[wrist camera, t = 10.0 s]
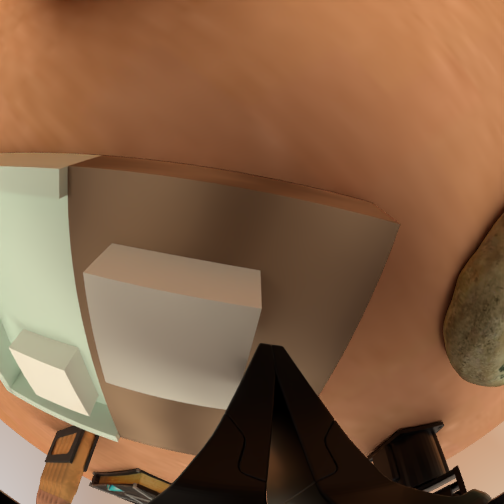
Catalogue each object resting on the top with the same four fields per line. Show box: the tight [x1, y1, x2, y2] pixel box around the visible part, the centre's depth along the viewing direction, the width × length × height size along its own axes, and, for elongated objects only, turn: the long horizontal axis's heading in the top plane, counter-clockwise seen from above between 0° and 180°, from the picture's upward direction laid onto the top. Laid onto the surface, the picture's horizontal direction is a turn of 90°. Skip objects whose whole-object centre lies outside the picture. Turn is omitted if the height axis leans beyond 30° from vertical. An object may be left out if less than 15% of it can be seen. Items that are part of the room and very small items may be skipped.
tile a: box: [9, 329, 99, 417], centre depth 14 cm, size 5×5×2 cm
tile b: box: [83, 243, 262, 410], centre depth 9 cm, size 5×5×2 cm
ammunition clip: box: [36, 426, 99, 504], centre depth 16 cm, size 11×2×12 cm, turn 129°
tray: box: [0, 153, 120, 442], centre depth 12 cm, size 11×18×3 cm, turn 169°
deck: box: [68, 155, 400, 455], centre depth 13 cm, size 11×18×2 cm, turn 169°
